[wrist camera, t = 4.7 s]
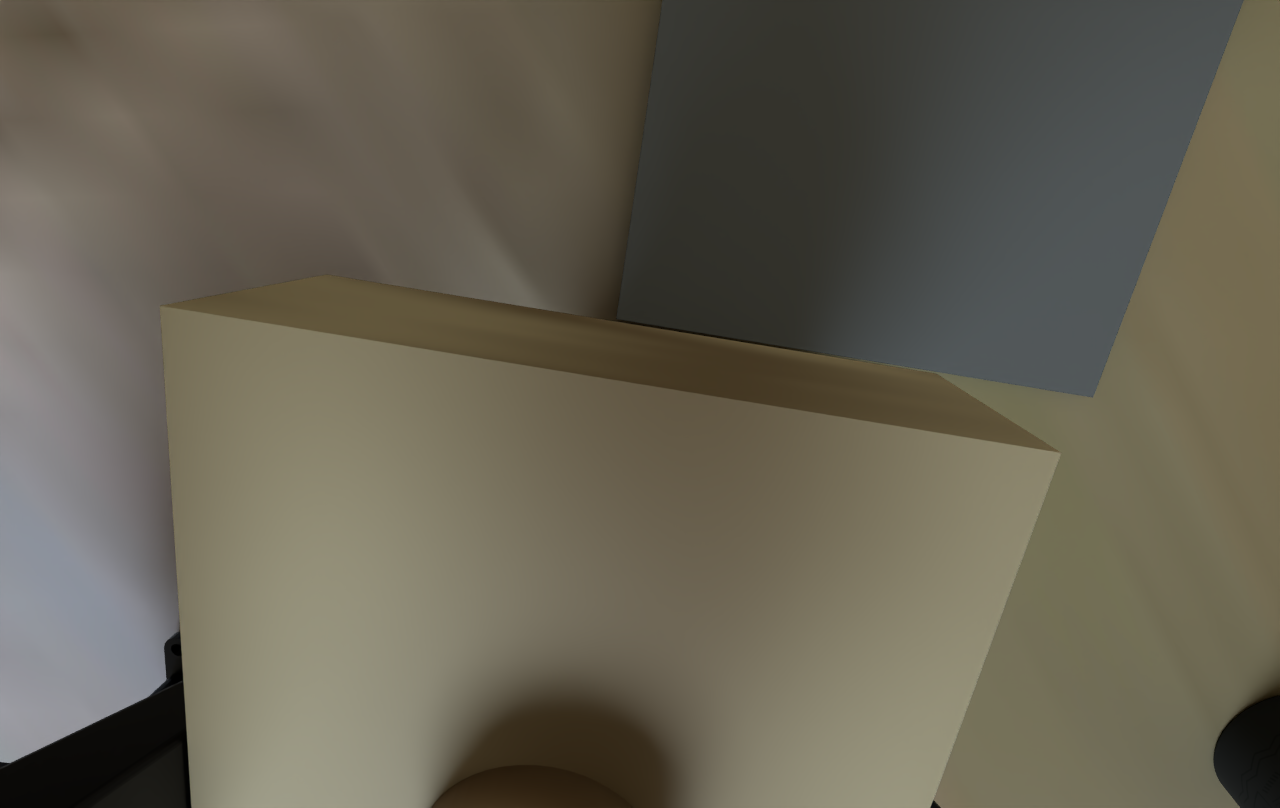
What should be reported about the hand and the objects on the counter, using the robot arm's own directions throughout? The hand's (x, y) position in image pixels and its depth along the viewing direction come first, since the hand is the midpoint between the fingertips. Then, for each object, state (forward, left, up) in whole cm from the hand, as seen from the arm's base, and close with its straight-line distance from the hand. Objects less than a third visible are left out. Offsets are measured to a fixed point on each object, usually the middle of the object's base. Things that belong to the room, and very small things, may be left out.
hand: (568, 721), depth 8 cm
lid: (0, 0, -1) cm, 1 cm away
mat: (+6, +11, -13) cm, 18 cm away
